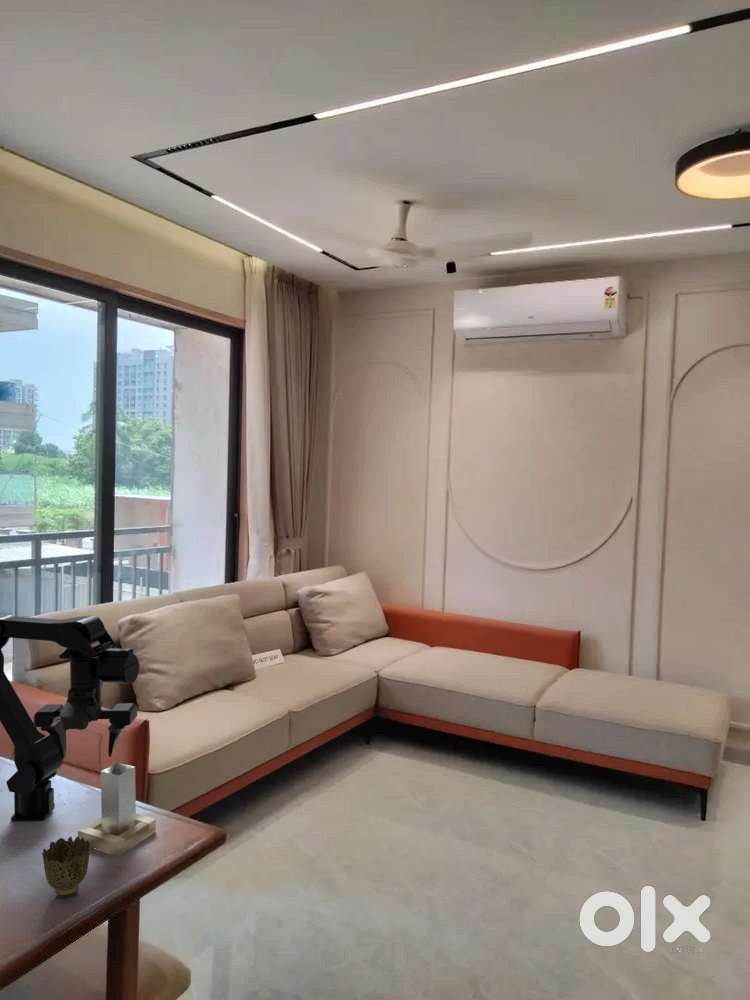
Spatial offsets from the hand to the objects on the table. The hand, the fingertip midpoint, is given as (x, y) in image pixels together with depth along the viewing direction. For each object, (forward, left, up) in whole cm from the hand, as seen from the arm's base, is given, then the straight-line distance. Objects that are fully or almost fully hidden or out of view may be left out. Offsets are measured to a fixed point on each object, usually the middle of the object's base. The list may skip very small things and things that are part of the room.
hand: (87, 756), depth 147 cm
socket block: (+8, -7, -14) cm, 17 cm away
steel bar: (+8, -7, -13) cm, 17 cm away
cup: (+5, -25, -13) cm, 29 cm away
